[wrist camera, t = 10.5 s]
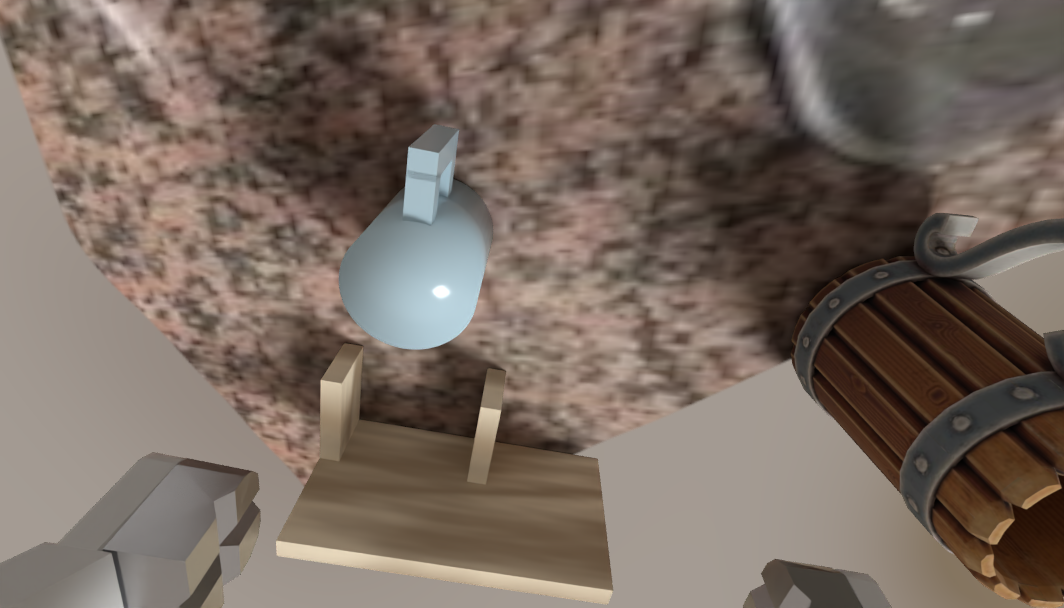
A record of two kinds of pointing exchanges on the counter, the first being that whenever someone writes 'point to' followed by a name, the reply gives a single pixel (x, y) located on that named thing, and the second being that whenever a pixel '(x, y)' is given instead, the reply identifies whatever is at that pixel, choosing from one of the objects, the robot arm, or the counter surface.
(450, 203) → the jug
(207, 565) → the robot arm
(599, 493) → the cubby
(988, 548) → the mug
